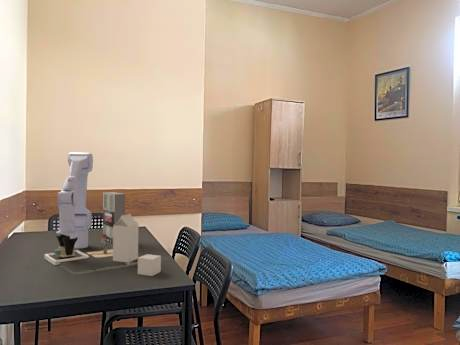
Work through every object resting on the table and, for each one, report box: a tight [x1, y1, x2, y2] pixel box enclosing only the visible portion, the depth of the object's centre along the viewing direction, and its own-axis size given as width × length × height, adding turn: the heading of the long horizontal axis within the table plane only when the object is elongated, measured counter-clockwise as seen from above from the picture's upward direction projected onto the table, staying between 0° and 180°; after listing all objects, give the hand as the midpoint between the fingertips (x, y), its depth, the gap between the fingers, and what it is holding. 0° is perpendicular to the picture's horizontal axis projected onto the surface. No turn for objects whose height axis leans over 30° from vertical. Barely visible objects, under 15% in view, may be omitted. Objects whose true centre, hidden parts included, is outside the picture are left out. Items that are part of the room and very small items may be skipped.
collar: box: [53, 246, 76, 258], centre depth 156 cm, size 7×5×3 cm
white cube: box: [137, 253, 162, 277], centre depth 140 cm, size 6×6×6 cm
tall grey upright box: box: [100, 191, 126, 246], centre depth 186 cm, size 14×6×25 cm, turn 41°
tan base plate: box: [85, 242, 113, 259], centre depth 164 cm, size 12×12×6 cm
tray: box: [43, 249, 90, 266], centre depth 156 cm, size 13×13×2 cm
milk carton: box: [112, 213, 139, 265], centre depth 154 cm, size 7×7×19 cm
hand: (66, 253), depth 156 cm, fingers closed on collar, 5 cm apart
